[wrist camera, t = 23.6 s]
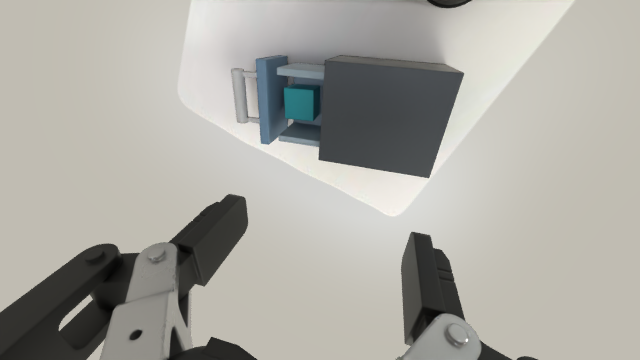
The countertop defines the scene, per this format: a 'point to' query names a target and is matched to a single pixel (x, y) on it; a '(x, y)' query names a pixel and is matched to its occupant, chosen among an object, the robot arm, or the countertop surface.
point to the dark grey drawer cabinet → (386, 113)
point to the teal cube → (302, 102)
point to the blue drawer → (278, 99)
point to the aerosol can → (448, 3)
